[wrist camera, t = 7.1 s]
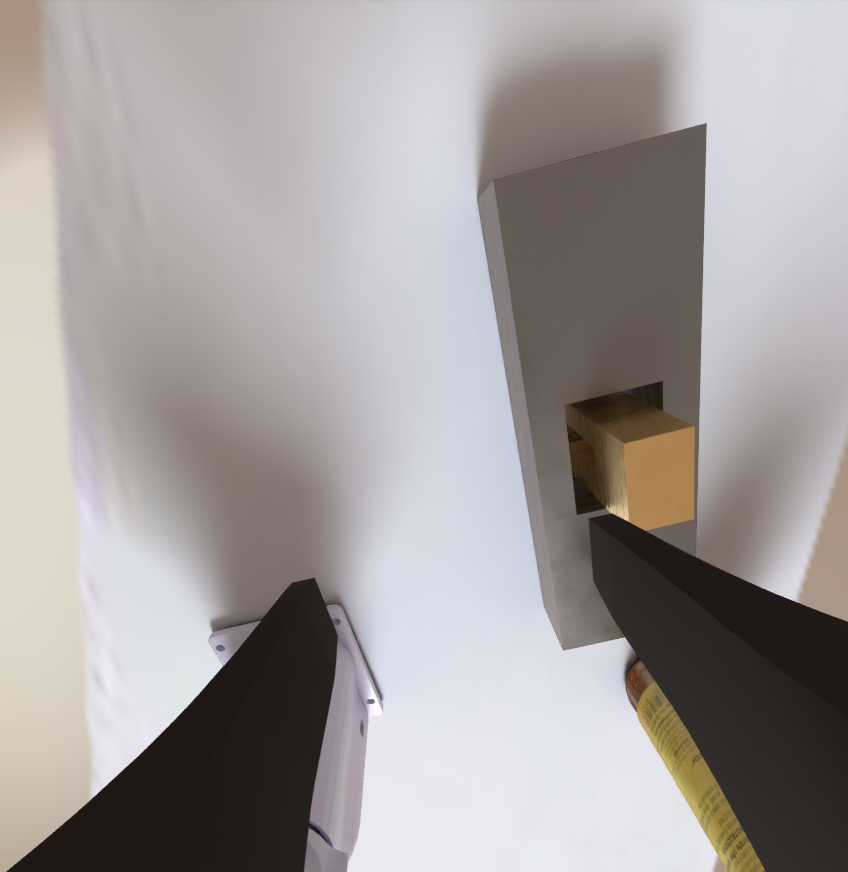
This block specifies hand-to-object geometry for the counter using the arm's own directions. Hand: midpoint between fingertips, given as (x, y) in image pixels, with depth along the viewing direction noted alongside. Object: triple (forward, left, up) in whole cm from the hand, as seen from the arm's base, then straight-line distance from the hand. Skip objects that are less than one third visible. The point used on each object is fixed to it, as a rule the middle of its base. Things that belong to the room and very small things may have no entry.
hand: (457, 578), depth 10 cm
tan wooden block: (-1, -8, -10) cm, 13 cm away
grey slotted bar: (-1, -8, -10) cm, 13 cm away
